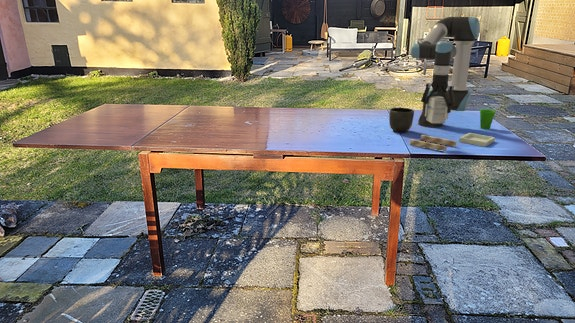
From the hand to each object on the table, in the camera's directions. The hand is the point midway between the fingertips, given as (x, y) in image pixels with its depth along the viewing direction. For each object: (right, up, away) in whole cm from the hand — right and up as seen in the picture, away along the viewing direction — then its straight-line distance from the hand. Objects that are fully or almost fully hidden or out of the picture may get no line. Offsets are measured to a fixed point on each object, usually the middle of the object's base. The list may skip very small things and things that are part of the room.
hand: (436, 117), depth 220 cm
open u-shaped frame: (0, -15, +5) cm, 15 cm away
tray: (+26, -12, +12) cm, 32 cm away
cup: (+44, -3, +40) cm, 59 cm away
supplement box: (0, -2, +1) cm, 3 cm away
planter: (-10, -5, +34) cm, 36 cm away
